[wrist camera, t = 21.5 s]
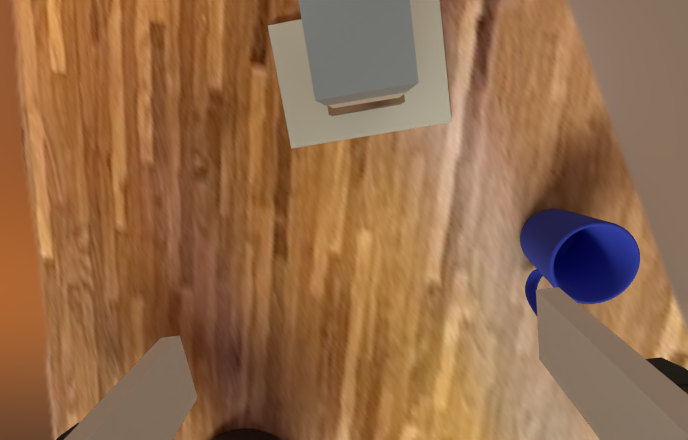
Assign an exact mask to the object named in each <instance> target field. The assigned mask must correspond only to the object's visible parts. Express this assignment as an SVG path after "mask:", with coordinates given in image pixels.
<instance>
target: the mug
mask: <svg viewBox="0 0 688 440" xmlns="http://www.w3.org/2000/svg"><path fill="white" fill-rule="evenodd" d="M520 242H521V247H522V250H523V252H524V254H525V256H526V257H527V258H528V259H529V261H530V262H531V263H532V264H533V265H534V266H535V267H536V268H537V269H536V270H534V271H532V273H531V274H530V275H529V277H528V279H527V282H526V286H525V293H526V297H527V300H528V302H529V304H530V306H531V308H532V310H533V311H534V313H535V314H536V316H537V302H536V290H537V286H538V283H539V281H540V279H541V277H542V276H544V277H545V278H546V279H547V280H548V281H549V282H550V283H551V285H552V286H553V287H554V288H556V287H559V288H560V289H561V290H562V291H564V292H565V293H566V294H567V295H568V296H570V297H571V298H572V299H573V300H575V301H576V302H577V303H582V304H596V303H601V302H605V301H607V300H610V299H612V298H614V297H616V296H617V295H619V294H620V293H622V292H623V291H624V290H625V289H626V288H627V287H628V286H629V285H630V284H631V282H632V281H633V279H634V278H635V276H636V274H637V271H638V268H639V263H640V253H639V248H638V245H637V243H636V241H635V239H634V238H633V236H632V235H631V234H630V233H629V232H628V231H627V230H626V229H624V228H623V227H621V226H619V225H617V224H614V223H611V222H607V221H603V220H599V219H595V218H592V217H588V216H584V215H580V214H577V213H573V212H569V211H565V210H560V209H549V210H544V211H541V212H539V213H537V214H535V215H534V216H532V217H531V218H530V219H529V220H528V221H527V222H526V224H525V225H524V227H523V229H522V232H521V237H520Z"/></svg>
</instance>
